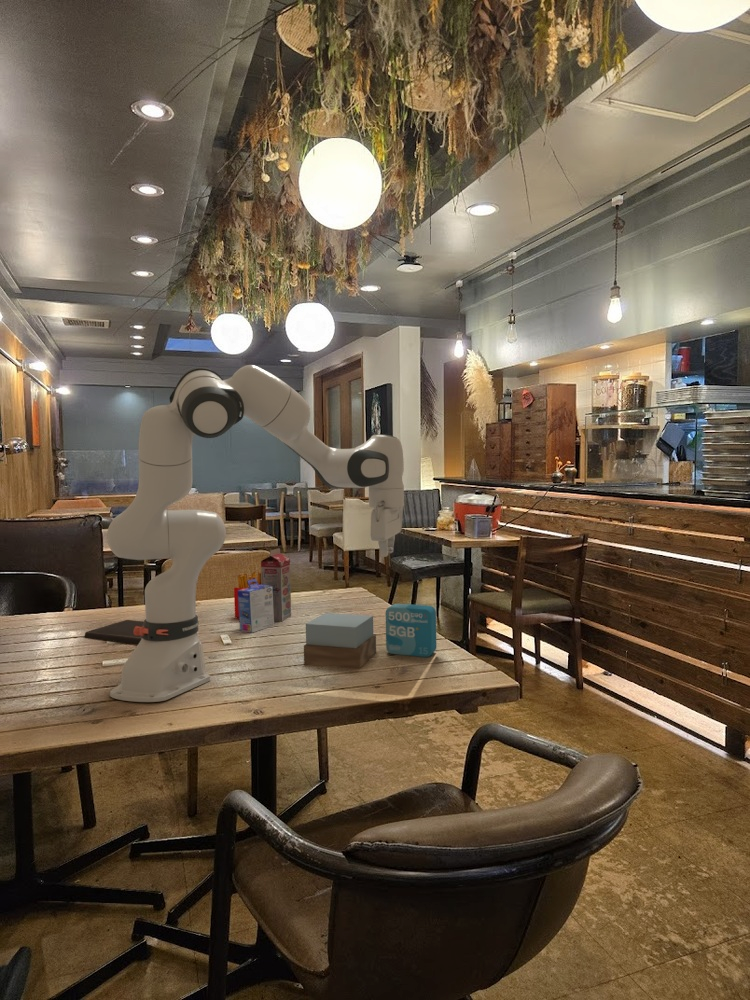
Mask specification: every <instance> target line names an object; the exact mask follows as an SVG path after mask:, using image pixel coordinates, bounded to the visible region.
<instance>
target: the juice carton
mask: <svg viewBox="0 0 750 1000" xmlns="http://www.w3.org/2000/svg"><path fill="white" fill-rule="evenodd" d="M290 559H291V558H289V557H288V556H286V555H285V554H283V553H281V548H280V547H279V548H274V549H271V550H269V556H267V557H266V558H264V559H262V560H261V561H260V573H261V584H262V585H268V586H272V590H273V612H274V622H284V621H285V620H287V619H289V618H290V617H292V596H291V594H292V592H291V591H292V590H291V589H292V587H291V560H290Z"/></svg>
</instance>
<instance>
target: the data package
mask: <svg viewBox="0 0 750 1000" xmlns="http://www.w3.org/2000/svg"><path fill="white" fill-rule="evenodd" d="M385 648H386V651H387V653H389V654H391V655H399V656H410V657H420V658H429V657H431V655H432V654H434V652H435V651H437V610H436V608H435V606H432V605H424V604H410V603H394V604H392V605H390V606H389V607H387V609H386V610H385Z"/></svg>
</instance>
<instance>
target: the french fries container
mask: <svg viewBox="0 0 750 1000" xmlns="http://www.w3.org/2000/svg"><path fill="white" fill-rule="evenodd" d="M252 579H256V581H257V582H258V585H262V584H261V572H257V574H256V571H253V572H251V575H250V576H248V574H247V573H243V574H238V575H237V581H238V587H233V595H234V596H233V597H234V599H233V600H234V617H235V618H236V619H237V620H239V606H238V590H242V589H246V588H249V585H248V582H247V580H252ZM250 584H251V585H252V584H256V582H251V583H250Z"/></svg>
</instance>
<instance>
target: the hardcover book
mask: <svg viewBox="0 0 750 1000" xmlns="http://www.w3.org/2000/svg"><path fill="white" fill-rule="evenodd" d="M143 624H144V620H143V621H142V620H141V621H140V620H135V619H134V620H133V619H125V620H122V621H118V622H114V623H112V624H108V625H105V626H100V627H98V628H95V629H91V630H87V631H85V633H84V638H86V639H92V640H98V641H106V642H112V643H118V644H119V643H120V644H127V645H133V646H135V645H136V646H137V645H138V644H139V642H140V641H141V639H142V638H141V635H135V634H134V633H135V632H133V631H134V629H135V627H136V626H139V627H143Z"/></svg>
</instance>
